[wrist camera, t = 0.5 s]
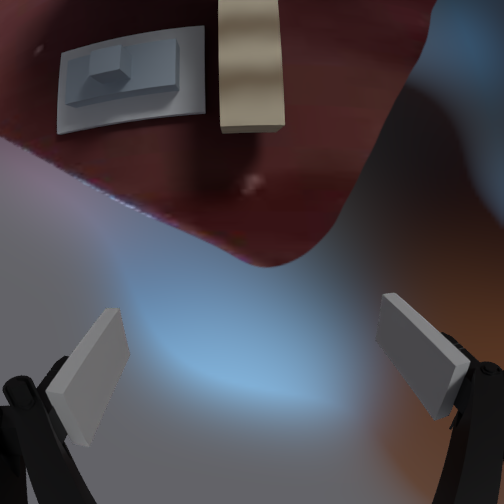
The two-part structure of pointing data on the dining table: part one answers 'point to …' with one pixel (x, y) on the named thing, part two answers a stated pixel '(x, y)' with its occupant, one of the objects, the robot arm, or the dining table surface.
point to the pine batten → (250, 66)
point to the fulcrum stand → (132, 79)
